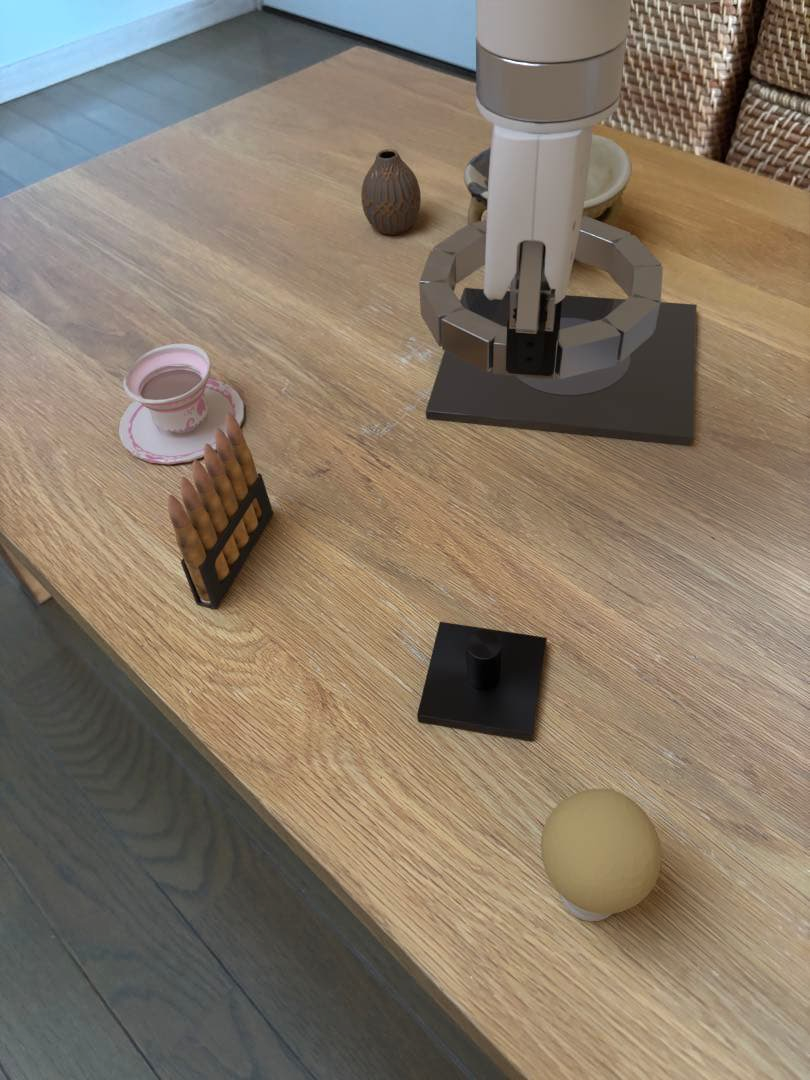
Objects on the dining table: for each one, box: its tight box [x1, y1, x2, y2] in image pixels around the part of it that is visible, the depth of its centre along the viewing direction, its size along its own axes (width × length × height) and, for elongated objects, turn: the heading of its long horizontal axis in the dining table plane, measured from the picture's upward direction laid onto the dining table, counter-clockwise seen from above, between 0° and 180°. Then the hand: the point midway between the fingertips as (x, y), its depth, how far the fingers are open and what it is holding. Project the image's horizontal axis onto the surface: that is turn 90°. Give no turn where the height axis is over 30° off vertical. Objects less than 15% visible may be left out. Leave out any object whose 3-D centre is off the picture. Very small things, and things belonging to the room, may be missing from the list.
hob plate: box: [425, 287, 698, 447], centre depth 84 cm, size 24×20×1 cm
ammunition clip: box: [167, 413, 274, 610], centre depth 67 cm, size 11×2×12 cm, turn 160°
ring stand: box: [416, 621, 548, 742], centre depth 60 cm, size 8×8×5 cm
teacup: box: [118, 343, 245, 465], centre depth 80 cm, size 12×12×6 cm
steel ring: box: [418, 216, 664, 380], centre depth 63 cm, size 17×17×3 cm
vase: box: [360, 148, 422, 236], centre depth 100 cm, size 7×7×9 cm
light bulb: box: [540, 788, 663, 922], centre depth 48 cm, size 6×6×10 cm
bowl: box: [463, 133, 633, 227], centre depth 95 cm, size 18×18×10 cm
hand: (532, 357), depth 59 cm, fingers closed on steel ring, 2 cm apart
